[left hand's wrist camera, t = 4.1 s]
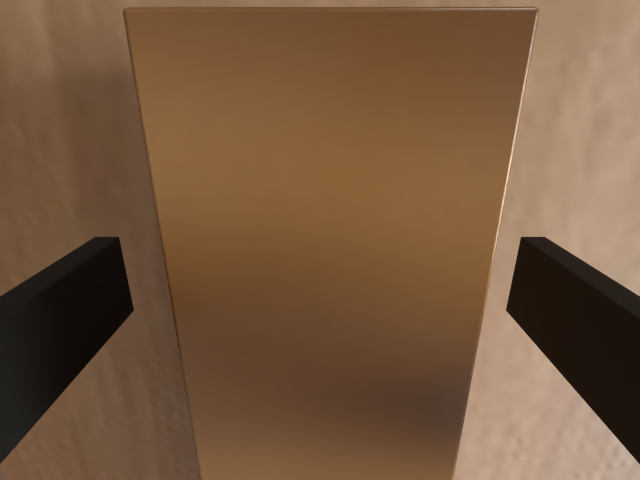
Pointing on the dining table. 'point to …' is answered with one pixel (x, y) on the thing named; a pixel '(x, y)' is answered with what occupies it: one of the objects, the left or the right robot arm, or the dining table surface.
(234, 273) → the beam
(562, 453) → the dining table surface
